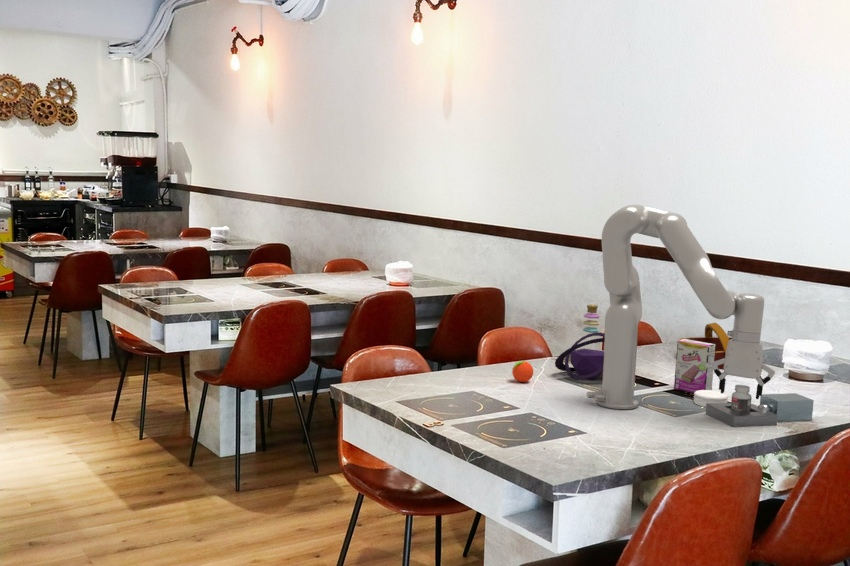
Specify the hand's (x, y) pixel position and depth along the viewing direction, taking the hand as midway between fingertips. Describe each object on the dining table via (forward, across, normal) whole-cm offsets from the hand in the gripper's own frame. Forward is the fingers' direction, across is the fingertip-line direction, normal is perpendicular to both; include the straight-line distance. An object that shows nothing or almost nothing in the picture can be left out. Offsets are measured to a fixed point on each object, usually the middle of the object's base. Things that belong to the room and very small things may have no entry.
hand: (739, 395), depth 256 cm
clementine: (+9, -69, +8) cm, 70 cm away
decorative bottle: (+9, -51, +28) cm, 59 cm away
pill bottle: (+7, +1, 0) cm, 7 cm away
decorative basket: (+8, -16, +84) cm, 86 cm away
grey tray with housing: (+7, +6, +5) cm, 10 cm away
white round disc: (+8, -9, +14) cm, 18 cm away
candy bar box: (+8, -17, +27) cm, 33 cm away
